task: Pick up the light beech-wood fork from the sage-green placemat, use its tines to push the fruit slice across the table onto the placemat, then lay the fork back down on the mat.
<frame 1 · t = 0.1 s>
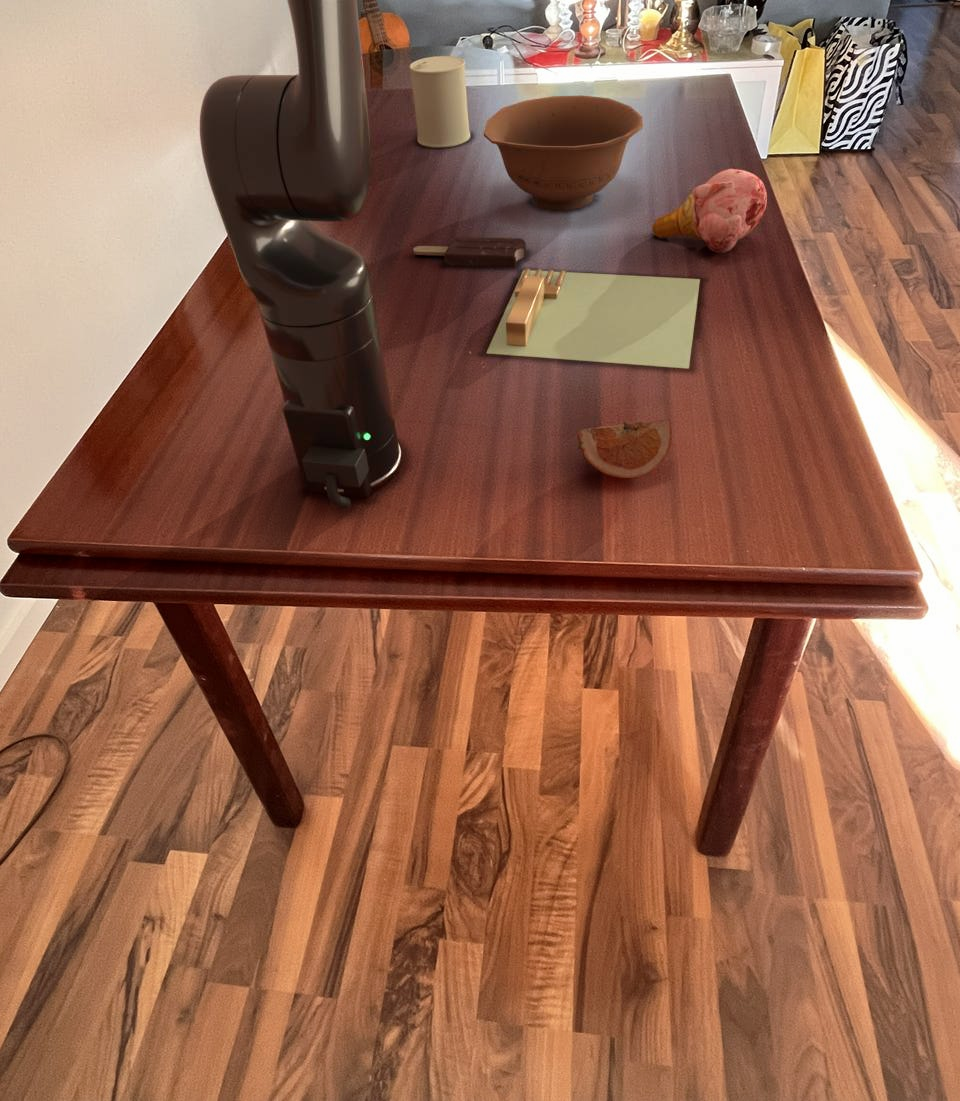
placemat: (597, 315, 94), on the table
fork: (530, 310, 96), resting on placemat
can: (444, 139, 141), on the table
ice cream bar: (469, 259, 107), on the table
fruit slice: (620, 467, 75), on the table
bowl: (562, 200, 119), on the table
ice cream: (703, 249, 105), on the table
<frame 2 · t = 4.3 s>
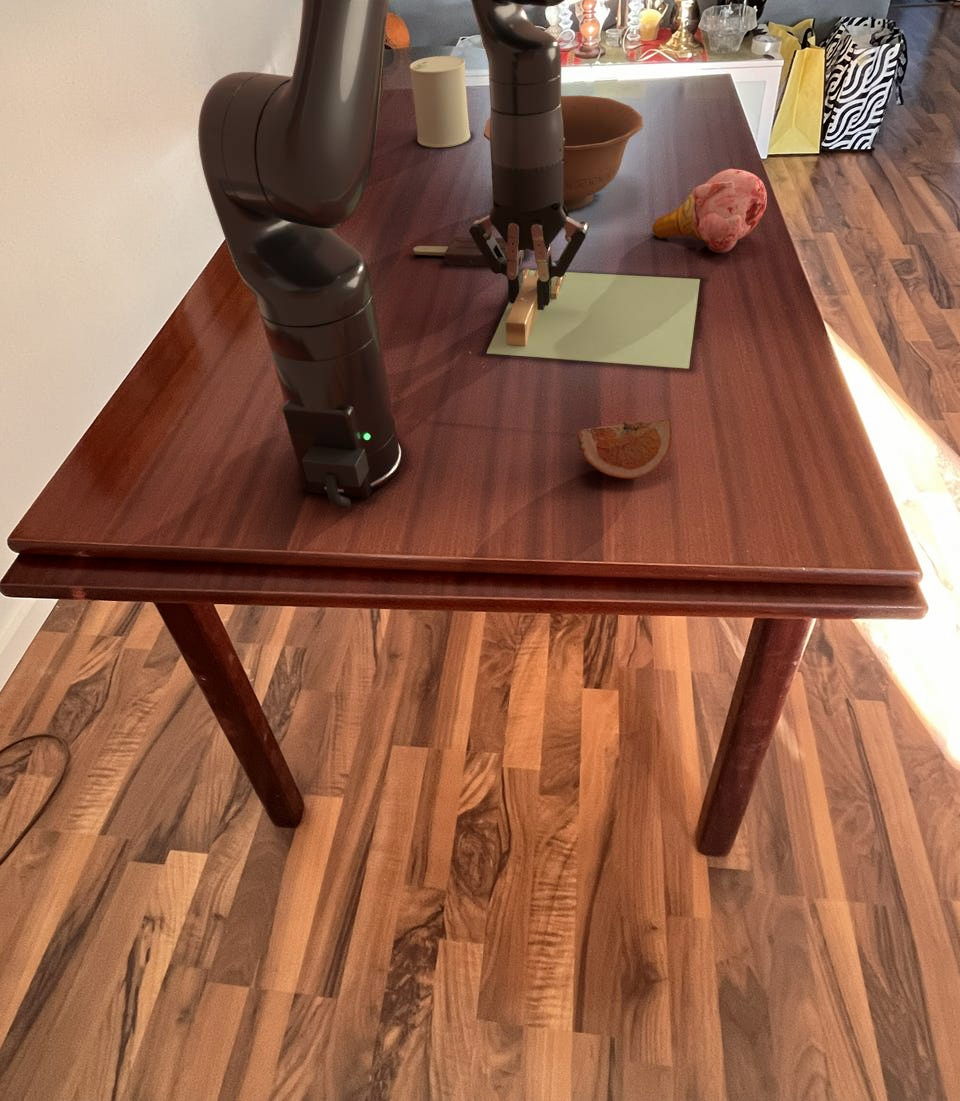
hand: (530, 305, 96), 1 cm above the table, tool pointing down, fingers closed on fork, 2 cm apart
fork: (530, 310, 96), resting on placemat, touching gripper
everything else where it was.
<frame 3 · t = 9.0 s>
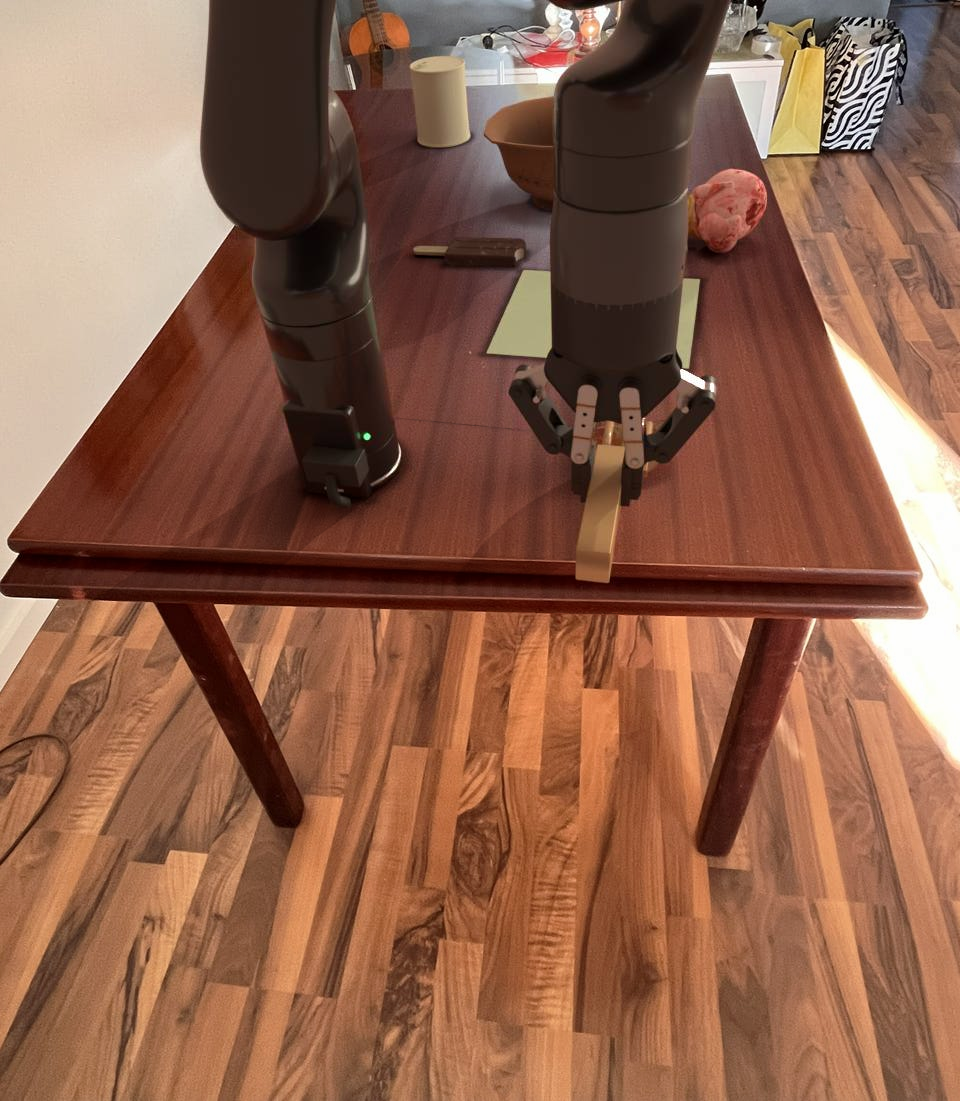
hand: (606, 496, 58), 9 cm above the table, tool pointing down, fingers closed on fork
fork: (606, 501, 58), point 9 cm above the table, touching gripper
everything else where it was.
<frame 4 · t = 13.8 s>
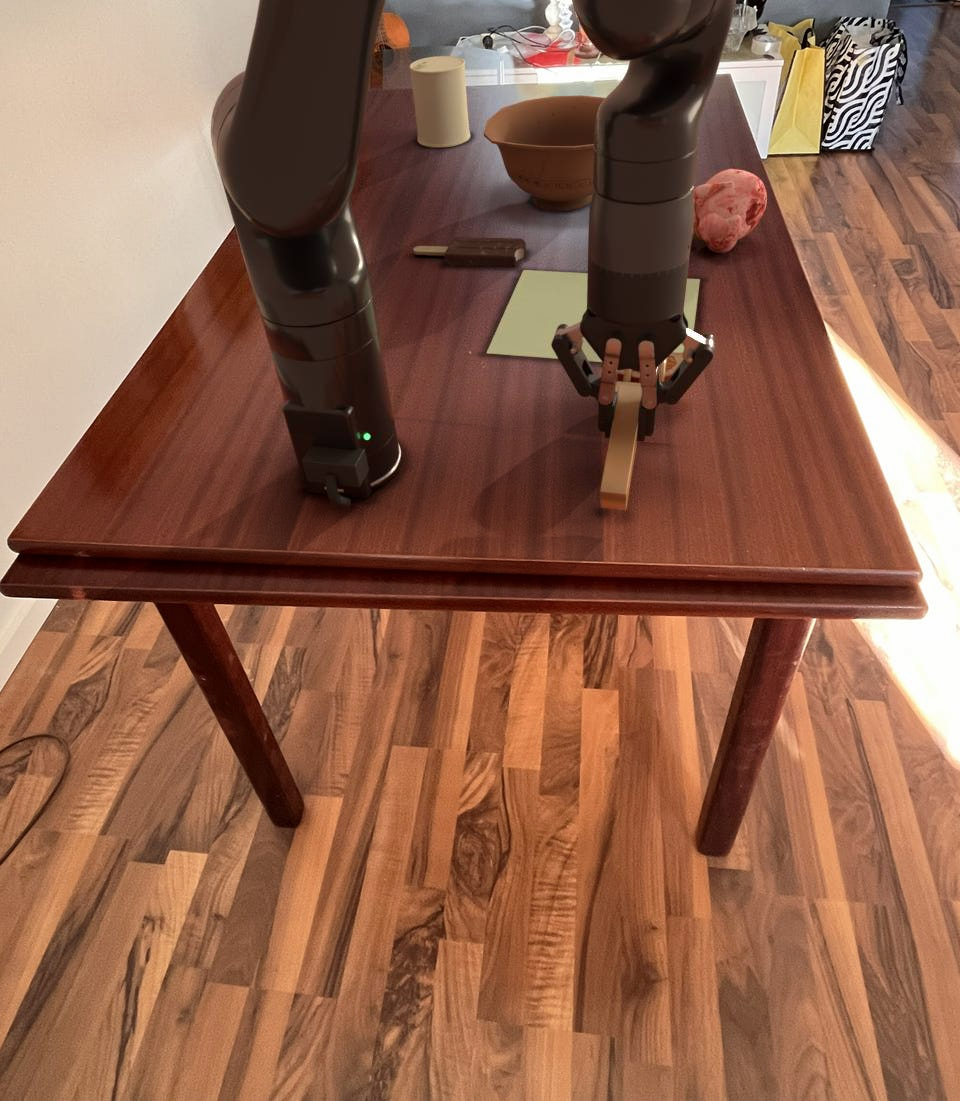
hand: (626, 433, 72), 4 cm above the table, tool pointing down, fingers closed on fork, 2 cm apart
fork: (626, 432, 73), point 3 cm above the table, tilted 19°, touching fruit slice, gripper
fruit slice: (639, 403, 78), point 2 cm above the table, touching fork
everything else where it was.
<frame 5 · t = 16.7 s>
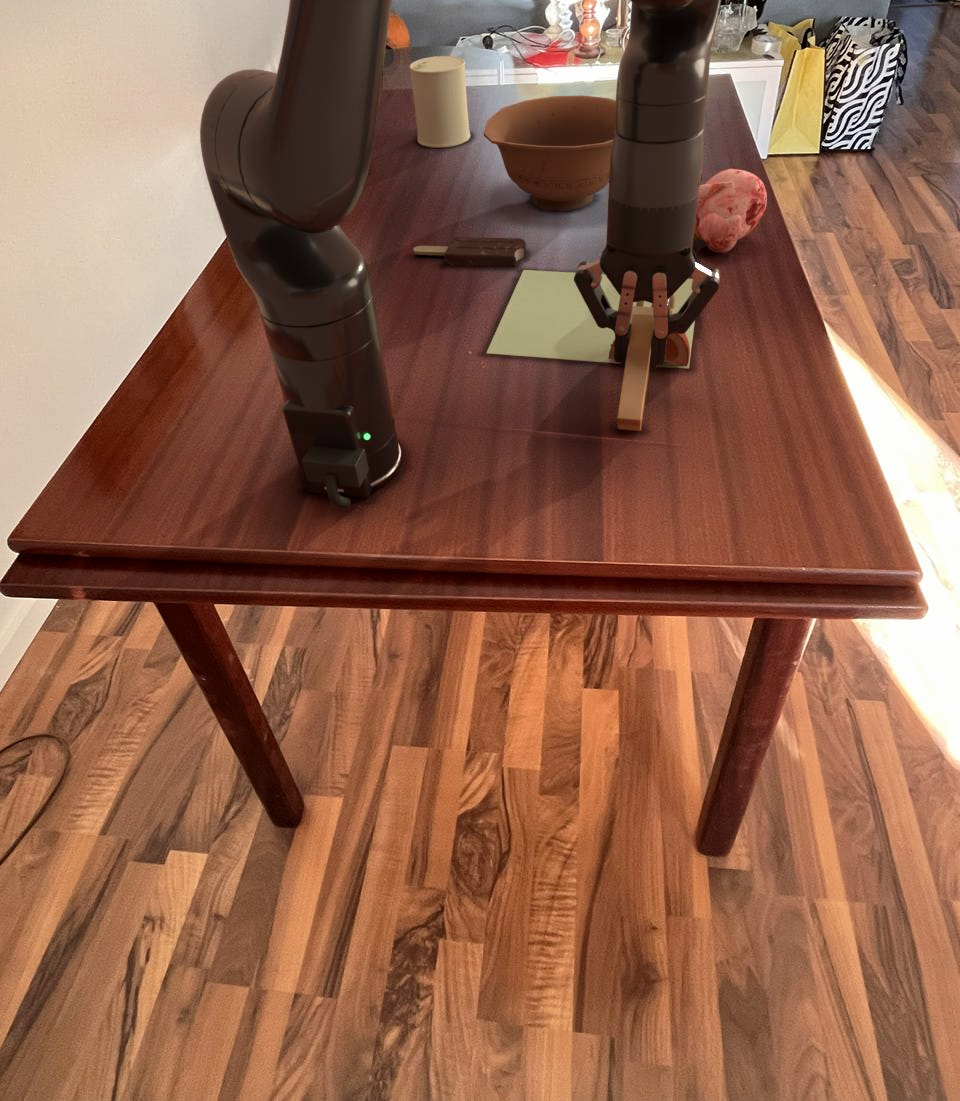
hand: (639, 364, 80), 4 cm above the table, tool pointing down, fingers closed on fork, 2 cm apart
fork: (640, 355, 80), point 4 cm above the table, tilted 31°, touching gripper
fruit slice: (654, 315, 86), point 4 cm above the table, touching placemat
everything else where it was.
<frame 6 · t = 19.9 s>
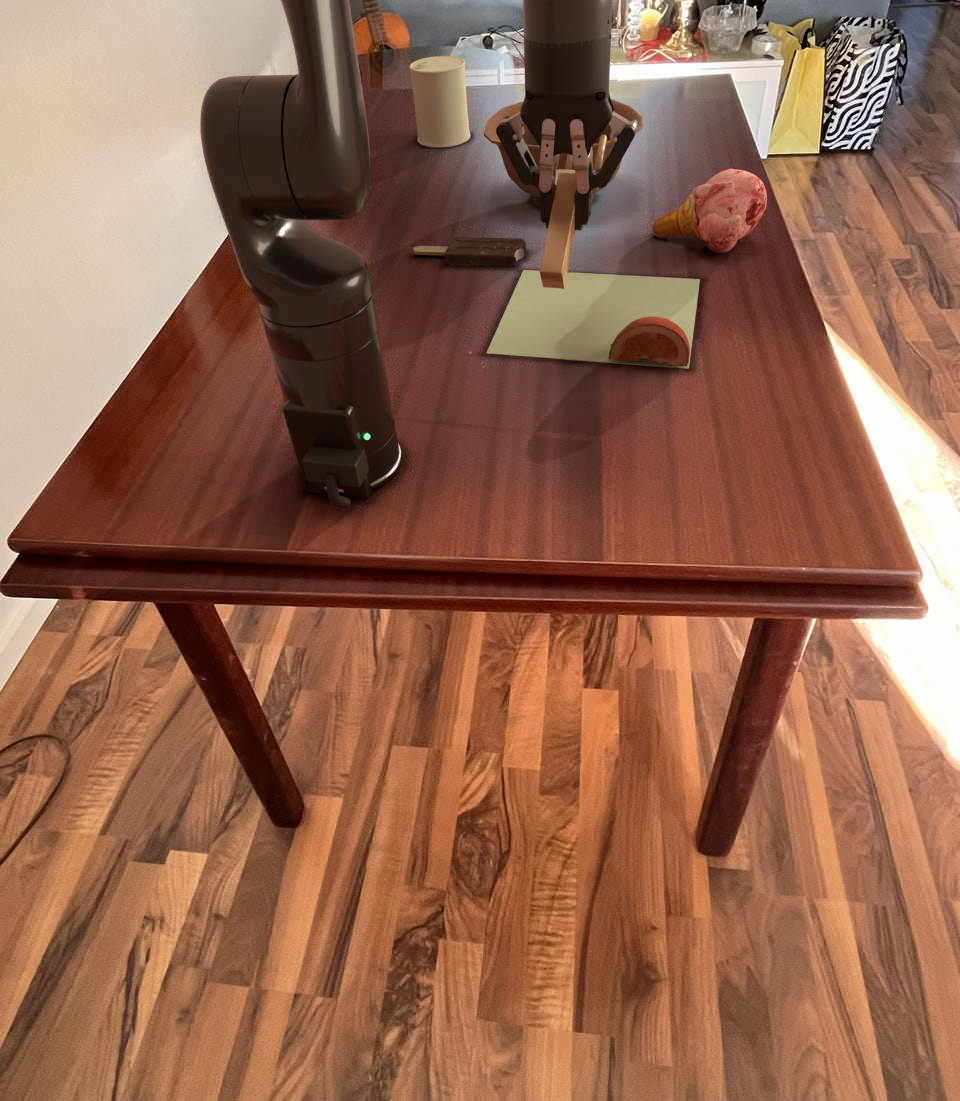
hand: (565, 225, 82), 13 cm above the table, tool pointing down, fingers closed on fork
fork: (567, 217, 82), point 14 cm above the table, tilted 32°, touching gripper
everything else where it was.
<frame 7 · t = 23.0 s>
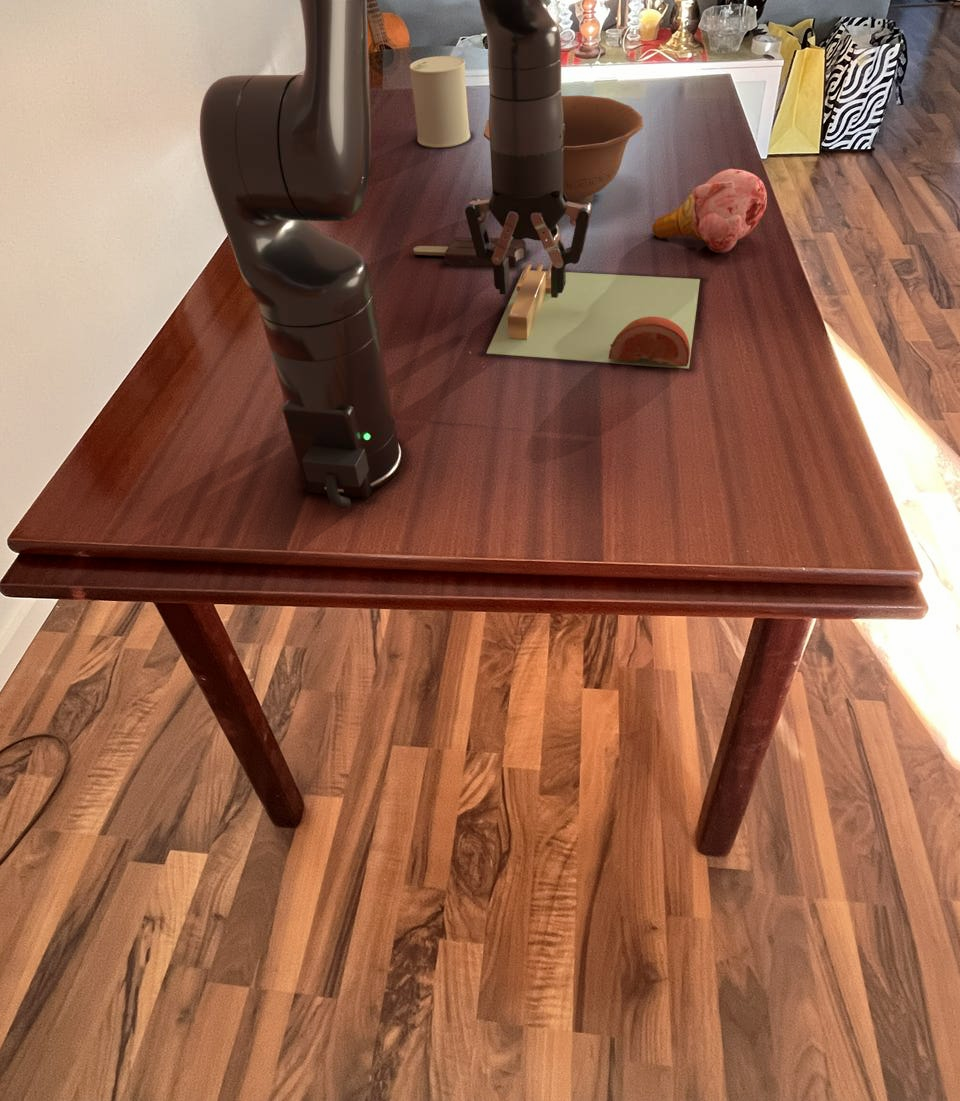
hand: (530, 292, 94), 2 cm above the table, tool pointing down, fingers open, 5 cm apart
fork: (532, 304, 97), resting on placemat
everything else where it was.
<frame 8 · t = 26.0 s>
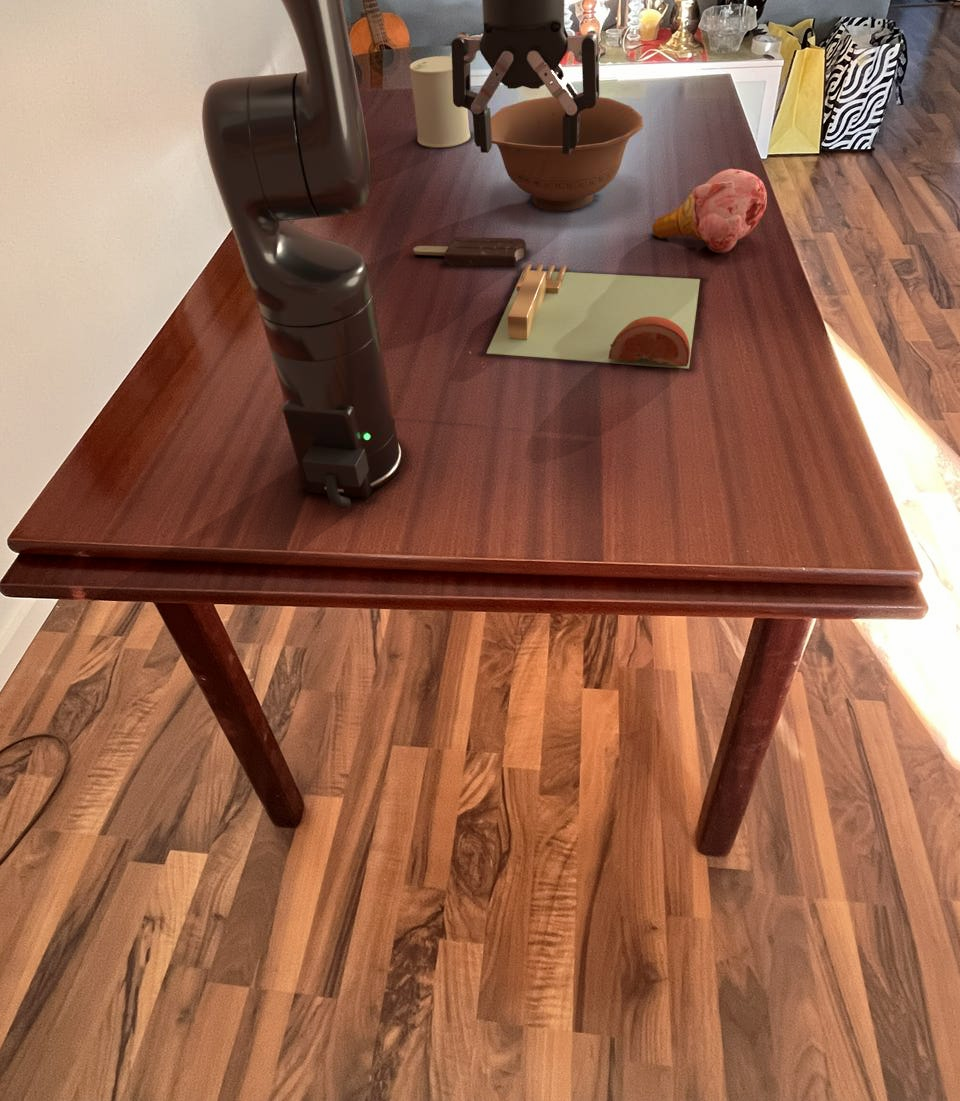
hand: (526, 151, 83), 18 cm above the table, tool pointing down, fingers open, 8 cm apart
nothing on the table moved.
at the end: fruit slice inside the target area on the placemat (9.4 cm from its centre), point 4.2 cm above the placemat's base; fruit slice moved 20.9 cm from its start; the gripper is holding nothing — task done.
